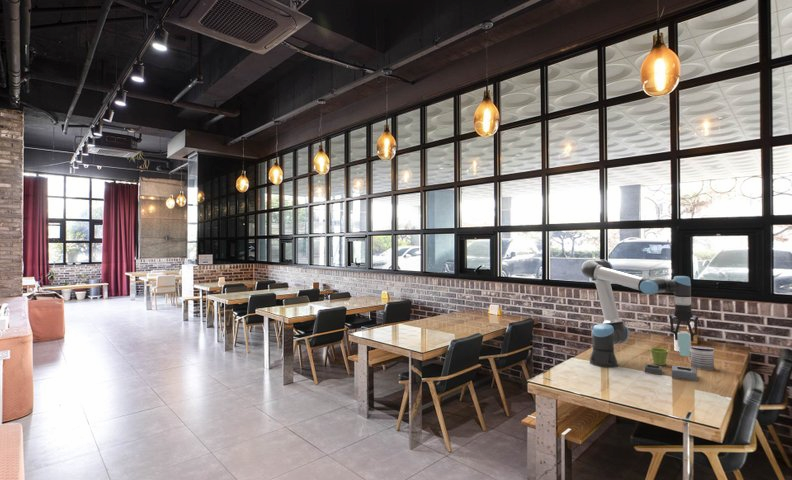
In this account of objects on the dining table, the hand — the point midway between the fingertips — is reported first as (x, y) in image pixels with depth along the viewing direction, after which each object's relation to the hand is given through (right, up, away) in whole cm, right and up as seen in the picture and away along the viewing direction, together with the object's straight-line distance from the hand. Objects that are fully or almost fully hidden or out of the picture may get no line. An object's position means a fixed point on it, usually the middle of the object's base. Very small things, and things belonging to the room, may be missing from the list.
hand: (684, 346), depth 223 cm
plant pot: (+2, -17, +24) cm, 29 cm away
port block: (0, -16, 0) cm, 16 cm away
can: (+23, -17, +17) cm, 33 cm away
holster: (-12, -17, +9) cm, 22 cm away
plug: (0, -5, 0) cm, 5 cm away
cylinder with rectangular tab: (+37, -17, +54) cm, 67 cm away
